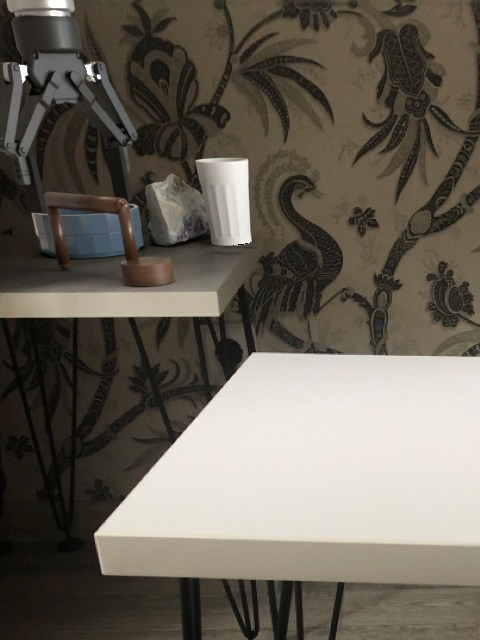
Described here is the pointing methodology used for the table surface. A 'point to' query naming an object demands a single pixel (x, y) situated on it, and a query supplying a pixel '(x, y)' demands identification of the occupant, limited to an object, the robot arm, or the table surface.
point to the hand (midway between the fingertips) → (82, 206)
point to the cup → (226, 199)
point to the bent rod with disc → (133, 268)
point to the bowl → (87, 233)
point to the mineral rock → (175, 211)
